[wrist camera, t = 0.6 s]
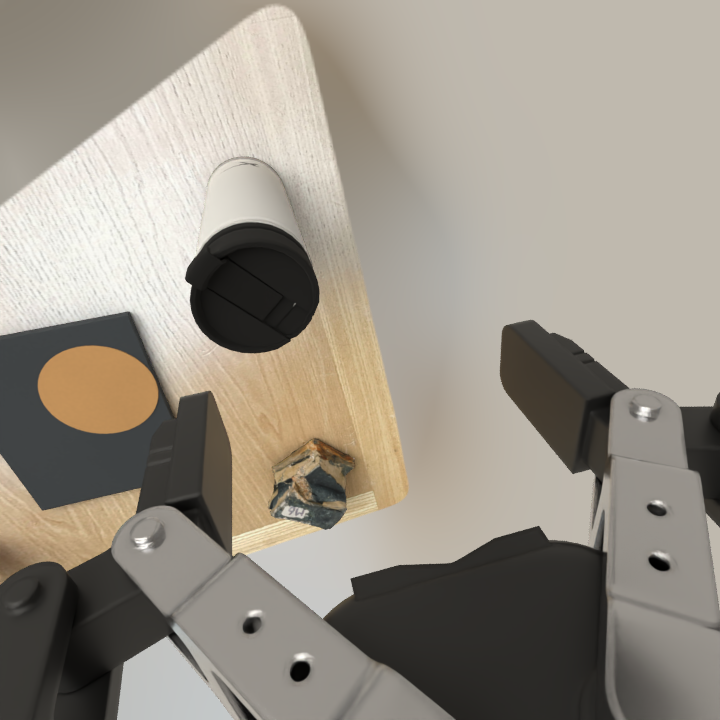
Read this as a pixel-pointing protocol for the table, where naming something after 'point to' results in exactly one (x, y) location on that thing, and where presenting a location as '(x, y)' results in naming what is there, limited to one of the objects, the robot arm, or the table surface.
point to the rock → (311, 485)
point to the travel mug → (250, 262)
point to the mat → (78, 409)
